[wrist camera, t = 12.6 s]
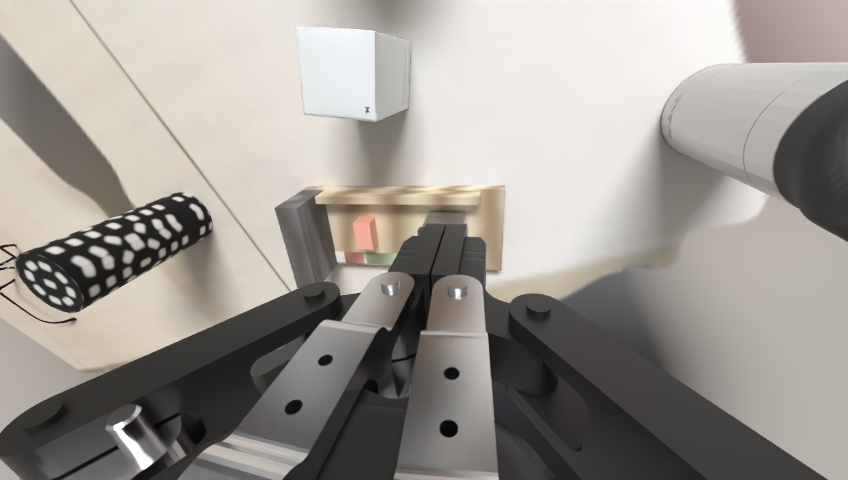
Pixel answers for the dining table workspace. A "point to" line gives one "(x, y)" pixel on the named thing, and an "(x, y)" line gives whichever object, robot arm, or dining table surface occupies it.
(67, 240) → the white-spotted black cylinder
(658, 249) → the dining table surface
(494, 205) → the beige long open tray
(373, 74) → the supplement box
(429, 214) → the carriage
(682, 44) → the dining table surface
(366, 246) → the pink eraser
